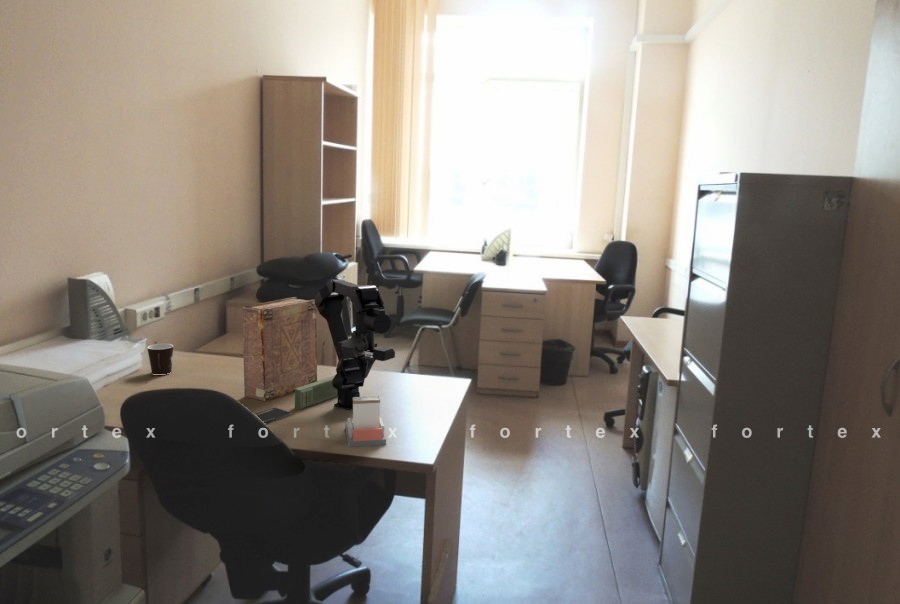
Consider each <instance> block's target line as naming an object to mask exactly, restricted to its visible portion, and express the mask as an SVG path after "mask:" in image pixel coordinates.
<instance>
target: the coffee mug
mask: <svg viewBox="0 0 900 604" xmlns="http://www.w3.org/2000/svg"><path fill="white" fill-rule="evenodd" d="M146 349H147V354H148V359H149V365H150V370H151V374H152V373H153V374H167V373H170V372H171V373H172V368H173V358H174V356H173V355H174V344H171V343H155V344H151V345H148V346H147V347H146Z"/></svg>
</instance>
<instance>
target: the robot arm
mask: <svg viewBox="0 0 900 604" xmlns="http://www.w3.org/2000/svg"><path fill="white" fill-rule="evenodd" d="M346 298H349V299H350V302H351V303H352V304H353V305H354V307H352V311H354V312H355V329H354V330H352V332H351V337H350V338H349V337H348V334H347V331H346V328H345V324H344V321H343V318H342V312H343V309H344V304H343V303H344V302H345V299H346ZM314 300H315V305H316V310H317V311H318V314H319V315H320V316H321V317H323V318H324V320H326V323H327V326H328V330H329V333H330V336H331V339H332V343H333V346H334V350H335V353H336V356H337V360H338V362H337V364H336V368H335V372H336V374H335V375H334V376H335V377H334V378H333V380H332V383H333V387H334V388H336V389H337V390H338V395H337V402H335V403H334V404H333V406H334V407H338V408H341V409H345V410H353V397H361V394H360V387H364V385H365V381H366V378H367V377H368V376H369V374H370V372H371V369H372V367H373V366H374V363H375V362H376V361H379V362H385V361H388V360H392V359H394V358H396V351H395V350H394V348H391V347H387V346H381V347H379V348H377V347H378V343H377V342H376V341H375V338H376V337H375V336H376V334H380V335H383V334H386V333H388V331H389V330H390V328H391V326H392V321H391V318H390V316H389V315H387V314H386V310H385V306H384V301H383V299H382V296H381V295H380V291H379V290H378V287H377V285H374V284H368V285H367V284H366V285H359V284H356V283H353V282H349V281H346V280H345V279H342V278H341V279H330V280H328V281H327V284H326V285H325V286H323V287H322V288H320V289H319V290H318V291H317V294H316V296H315V299H314Z"/></svg>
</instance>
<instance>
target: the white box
mask: <svg viewBox="0 0 900 604" xmlns="http://www.w3.org/2000/svg"><path fill="white" fill-rule="evenodd" d="M380 403H381V399H380V396H379V395H373V396H360V397H353V408H352V423H353V429H369V428H379V422H380V415H381V413H380V411H381V409H380V408H381V406H380V405H381V404H380Z"/></svg>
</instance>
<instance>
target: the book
mask: <svg viewBox="0 0 900 604" xmlns="http://www.w3.org/2000/svg"><path fill="white" fill-rule="evenodd" d="M241 310H242V311H241V314H242V315H241V317H242V320H241V321H242V347H243V348H242V349H243V350H242V351H243V352H242V353H243V354H242V356H243V357H242V358H243V378H244V379H243V386H244V389H243V390H244V397H245V396H246V398H250V399H253V398H254V399H255V400H257V399H258V400H257V401H262V402H268V401H271V400H274V399H276V398H279V397H281V395H282V396H284V394H285V395H287V394H289V393H293V392H295V389H296V388H299V387H302V386H305V385H308V384H311V383H314V382H317V381H318V364H317V363H318V359H317V358H318V352H317V351H318V350H317V345H318V344H317V338H318V337H317V335H318V334H317V307H316V305H315V299H310V300H306V299H299V298H298V297H297V296H293V297H287V298H282V299H275V300H272V301H266V302H262V303H256V304H251V305H246V306H242V307H241ZM292 391H293V392H292Z"/></svg>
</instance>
